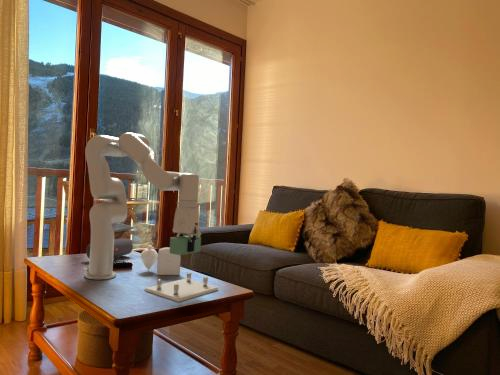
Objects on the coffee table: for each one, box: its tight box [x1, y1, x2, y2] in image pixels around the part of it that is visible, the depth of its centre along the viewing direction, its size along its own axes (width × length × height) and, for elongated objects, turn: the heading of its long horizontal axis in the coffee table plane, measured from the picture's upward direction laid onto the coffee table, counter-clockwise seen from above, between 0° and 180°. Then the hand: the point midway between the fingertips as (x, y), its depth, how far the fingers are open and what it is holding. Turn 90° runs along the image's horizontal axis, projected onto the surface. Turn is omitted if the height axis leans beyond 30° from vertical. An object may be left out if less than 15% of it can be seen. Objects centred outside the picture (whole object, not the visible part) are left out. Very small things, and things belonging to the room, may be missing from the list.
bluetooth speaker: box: [85, 238, 134, 260], centre depth 205 cm, size 23×9×10 cm, turn 149°
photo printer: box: [156, 246, 181, 276], centre depth 181 cm, size 10×4×12 cm, turn 100°
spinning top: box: [140, 244, 158, 272], centre depth 185 cm, size 8×8×12 cm
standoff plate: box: [145, 272, 219, 303], centre depth 158 cm, size 18×22×5 cm
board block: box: [169, 235, 202, 255], centre depth 158 cm, size 5×12×6 cm, turn 145°
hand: (185, 250), depth 158 cm, fingers closed on board block, 5 cm apart
